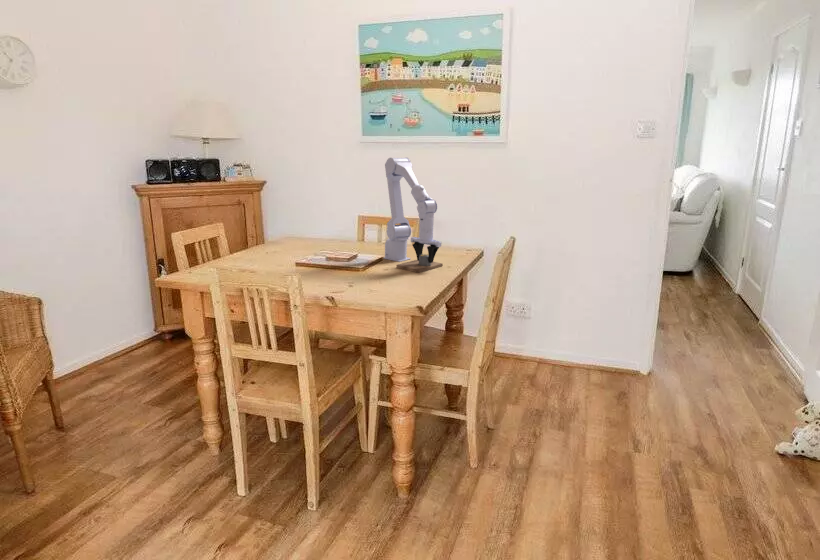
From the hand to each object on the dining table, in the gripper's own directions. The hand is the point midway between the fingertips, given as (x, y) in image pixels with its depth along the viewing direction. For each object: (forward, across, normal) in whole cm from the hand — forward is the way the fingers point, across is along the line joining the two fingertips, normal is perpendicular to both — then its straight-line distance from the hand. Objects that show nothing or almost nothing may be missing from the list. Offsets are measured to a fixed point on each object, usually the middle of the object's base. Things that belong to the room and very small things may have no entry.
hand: (425, 261), depth 235 cm
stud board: (+3, -2, -1) cm, 3 cm away
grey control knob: (+1, 0, 0) cm, 1 cm away
